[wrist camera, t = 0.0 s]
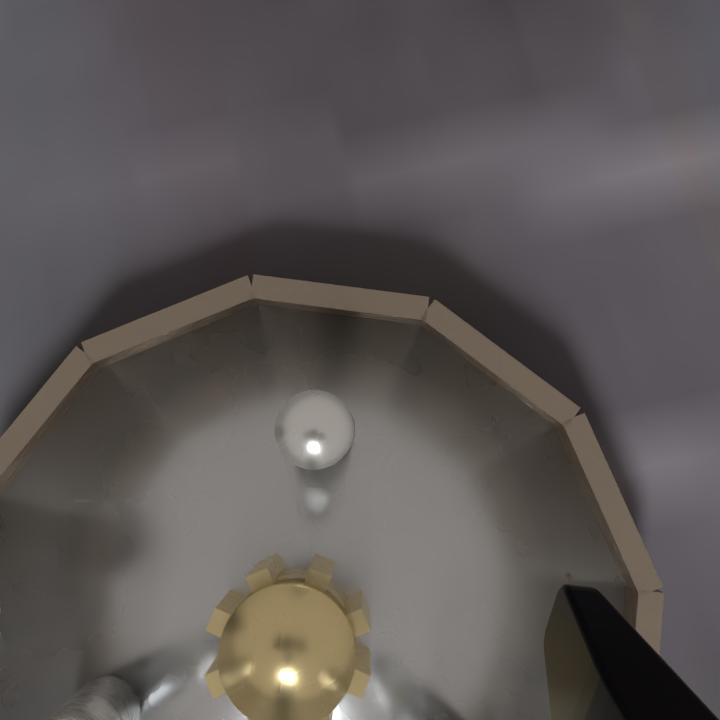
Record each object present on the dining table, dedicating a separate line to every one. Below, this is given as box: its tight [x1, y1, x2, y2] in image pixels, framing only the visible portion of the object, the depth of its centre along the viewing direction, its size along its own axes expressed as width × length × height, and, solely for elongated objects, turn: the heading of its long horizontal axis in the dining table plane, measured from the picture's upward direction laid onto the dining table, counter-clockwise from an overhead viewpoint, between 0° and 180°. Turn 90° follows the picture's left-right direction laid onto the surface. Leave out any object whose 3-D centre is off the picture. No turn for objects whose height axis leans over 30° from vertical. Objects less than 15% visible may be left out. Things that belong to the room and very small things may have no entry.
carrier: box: [0, 274, 664, 720], centre depth 19 cm, size 23×23×5 cm
